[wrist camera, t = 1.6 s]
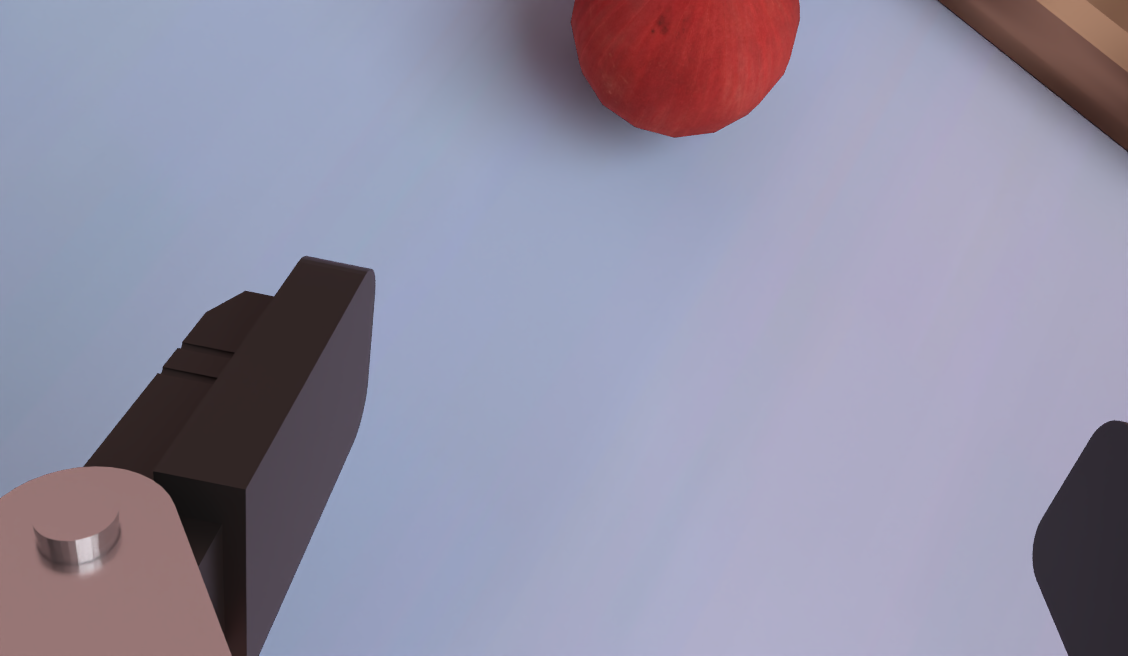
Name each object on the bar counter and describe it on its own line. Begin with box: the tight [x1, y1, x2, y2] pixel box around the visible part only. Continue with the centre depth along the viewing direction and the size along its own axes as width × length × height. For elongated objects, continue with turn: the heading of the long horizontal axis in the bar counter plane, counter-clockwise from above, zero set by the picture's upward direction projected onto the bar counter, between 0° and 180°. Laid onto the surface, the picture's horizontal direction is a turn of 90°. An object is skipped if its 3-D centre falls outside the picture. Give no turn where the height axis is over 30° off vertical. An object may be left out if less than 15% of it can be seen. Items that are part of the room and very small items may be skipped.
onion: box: [571, 0, 800, 138], centre depth 25 cm, size 6×6×8 cm
